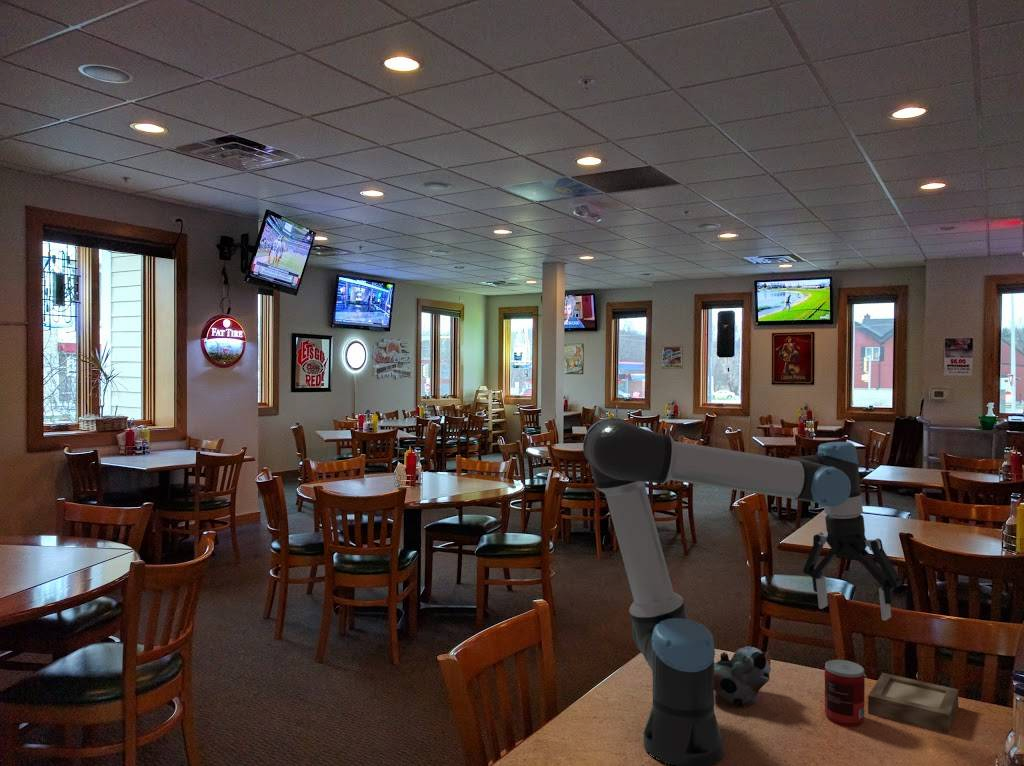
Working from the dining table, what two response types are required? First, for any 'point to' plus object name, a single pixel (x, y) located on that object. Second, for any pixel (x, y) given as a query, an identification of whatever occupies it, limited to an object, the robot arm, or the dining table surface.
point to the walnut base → (914, 702)
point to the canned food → (844, 692)
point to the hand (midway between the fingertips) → (853, 612)
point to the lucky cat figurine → (742, 675)
